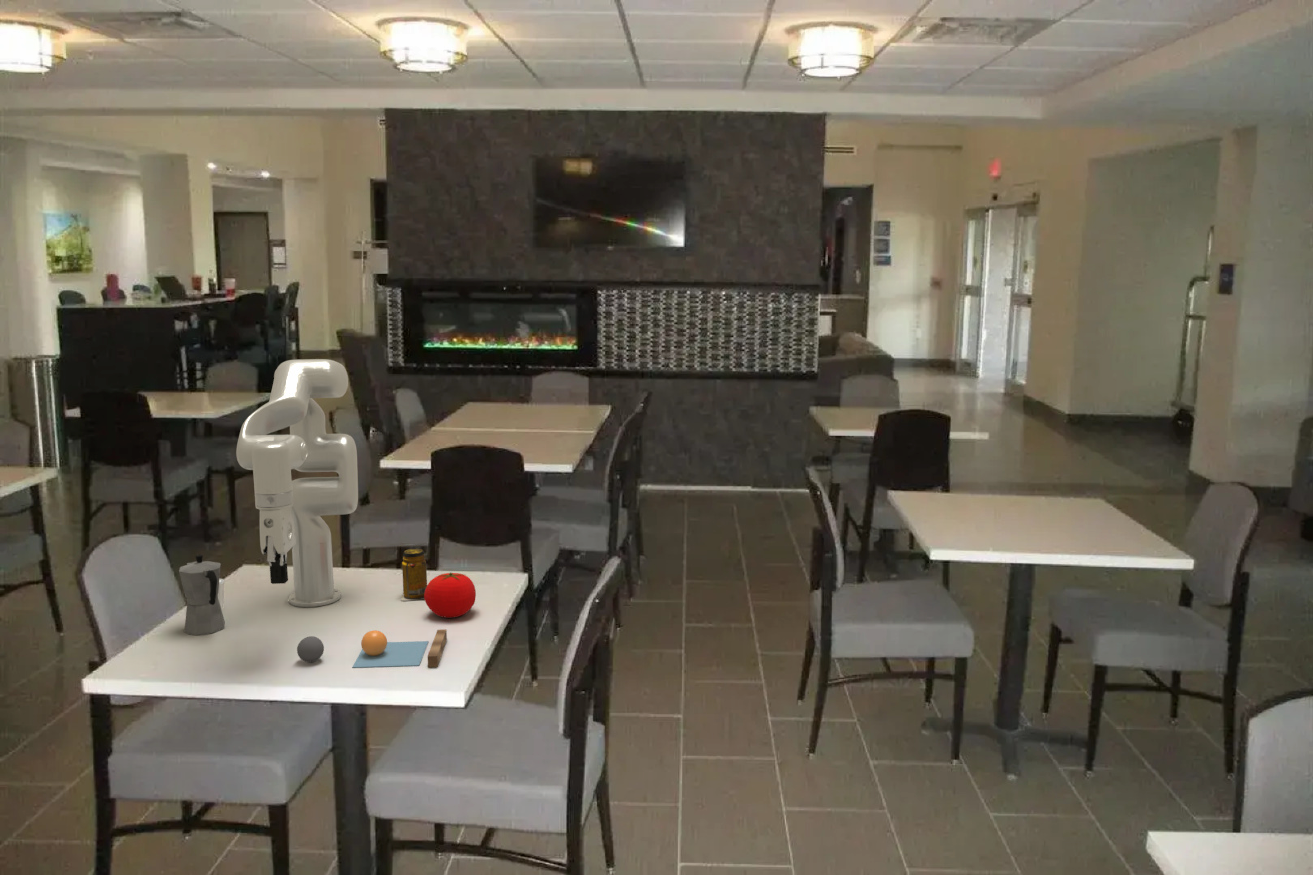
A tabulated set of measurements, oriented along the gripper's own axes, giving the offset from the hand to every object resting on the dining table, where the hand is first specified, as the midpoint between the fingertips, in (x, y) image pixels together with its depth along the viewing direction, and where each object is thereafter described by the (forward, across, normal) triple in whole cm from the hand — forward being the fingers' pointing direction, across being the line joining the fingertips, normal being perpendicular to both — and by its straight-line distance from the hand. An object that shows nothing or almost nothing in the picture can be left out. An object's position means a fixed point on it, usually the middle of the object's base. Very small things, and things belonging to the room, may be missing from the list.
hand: (279, 582), depth 223 cm
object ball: (+14, 0, -19) cm, 24 cm away
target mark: (+17, 0, -23) cm, 29 cm away
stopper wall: (+17, 0, -33) cm, 37 cm away
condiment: (+17, +40, -23) cm, 49 cm away
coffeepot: (+17, +19, +23) cm, 34 cm away
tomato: (+17, +25, -33) cm, 45 cm away
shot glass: (+17, +34, +27) cm, 47 cm away
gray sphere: (+14, -3, -6) cm, 16 cm away
